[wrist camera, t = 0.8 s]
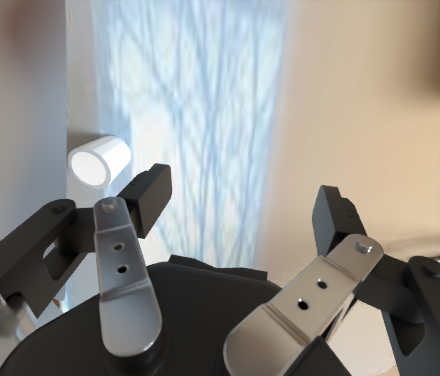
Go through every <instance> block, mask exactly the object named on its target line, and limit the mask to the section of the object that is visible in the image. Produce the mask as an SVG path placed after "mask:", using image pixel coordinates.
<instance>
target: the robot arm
mask: <svg viewBox="0 0 440 376" xmlns="http://www.w3.org/2000/svg"><path fill="white" fill-rule="evenodd" d="M171 195H172V180H171V168H170V166H169V165H166V164H158V163H155V164H154V165H153V166H152V167H151V168H150V169H149V171H144V172H142V173H140V174H138V175H137V176H136V177H135V178H134V179H133V181H131V182H130V183H129V185H127V186H126V187H125V188H124V189H123V190H122V191H121V192H120V193H119V194H118V195H117V196H116V197H108V198H104V199H102V200H100V201H98V202H97V203H96V204H95V205H94V207H93V208H77V207H76V204H75V202H74V201H73V200H70V199H59V200H55V201H52V202H49V203H47V204H46V205H44V206H43V207H42V208H41V209H39V210H38V211H37V212H36V213H34V214H33V215H32V216H31V217H30V218H28V219H27V220H26V221H25V222H24V223H22V224H21V225H20V226H18V227H17V228H16V229H15V230H14V231H12V232H11V233H10V234H9V235H7V236H6V237H5V238H4V239H2V240H1V241H0V376H351V374H350V373H349V372H348V370H347V369H346V368H345V366H344V365H343V364H342V362H341V361H340V360H339V359H338V357H337V356H336V355H335V353H334V352H333V351H332V349H331V348H330V347H329V345H328V343H329V342H330V340H331V339H332V337H333V336H334V334H335V332H336V331H337V329H338V328H339V326H340V325H341V324H342V322H343V321H344V320H345V318H346V317H347V316H348V314H349V313H350V312H351V310H352V309H353V308H354V306H355V305H356V304H357V302H358V301H359V300H360V301H362V302H364V303H366V304H368V305H371V306H373V307H375V308H377V309H379V310H381V313H382V316H383V320H384V323H385V326H386V330H387V333H388V337H389V340H390V343H391V347H392V350H393V354H394V357H395V360H396V364H397V367H398V371H399V374H400V376H440V263H439V262H437V261H435V260H433V259H431V258H428V257H424V256H413V257H411V258H410V259H409V261H408V262H407V263H406V262H404V261H401V260H398V259H395V258H393V257H390V256H388V255H386V254H384V250H383V248H382V247H381V245H380V244H379V243H378V242H376V241H375V240H374V239H372V238H370V237H368V236H367V234H366V231H365V229H364V227H363V224H362V222H361V220H360V219H359V218H360V217H359V215H358V213H357V210H356V208H355V206H354V204H353V203H352V202H351V201H350V200H349V199H347V198H342V197H341V195H340V192H339V190H338V187H333V186H325V185H321V187H320V189H319V192H318V196H317V199H316V202H315V206H314V209H313V214H312V223H313V229H314V235H315V241H316V247H317V252H318V257H317V258H316V259H315V260H314V261H312V262H311V263H310V264H309V265H308V266H307V267H306V268H305V269H304V270H303V271H302V272H301V273H299V274H298V275H297V276H296V277H295V278H294V279H293V280H292V281H291V282H290V283H289V284H288V285H286V286H285V287H284V288H283V289H282V288H281V287H279V286H278V285H276V284H274V283H273V282H271V281H268V280H267V272H264V271H259V270H253V269H248V268H215V267H213V266H210V265H208V264H206V263H203V262H201V261H198V260H196V259H193V258H188V257H182V256H177V255H172V254H171V256H170V259H169V261H168V262H159V263H155V264H152V265H149V266H147V267H146V265H145V261H144V258H143V255H142V251H141V248H140V245H139V241H138V238H142V239H145V238H146V236H147V234H148V233H149V231H150V230H151V228H152V227H153V225H154V224H155V222H156V221H157V219H158V217H159V216H160V214H161V213H162V211H163V210H164V208H165V207H166V205H167V203H168V202H169V200H170V198H171ZM52 242H54V245H55V247H54V248H53V249H52V250H51V252H50V253H49V254H48V255H47V256H46V257H45V258H44V259H43V254H44V252H45V250H46V249H47V248H48V247H49V246H50V245H51V243H52ZM92 252H96V262H97V272H98V282H99V292H100V293H99V294H97V295H95V296H93V297H92V298H90V299H88V300H86V301H85V302H83V303H81V304H79V305H78V306H76V307H74V308H73V309H71V310H69V311H67V312H66V313H64V314H62V315H60V316H59V317H57V318H55V319H54V320H52V321H50V322H48V323H46V324H45V325H43V326H42V327H40V328H38V329H37V326H38V321H37V319H38V318H39V316H40V315H41V313H42V312H43V311H44V310H45V308H46V307H47V306H48V305H49V303H50V302H51V301H52V299H53V298H54V297H55V295H56V294H57V293H58V292H59V290H60V289H61V288H62V286H63V285H64V284H65V283H66V281H67V280H68V279H69V277H70V276H71V275H72V273H73V272H74V271H75V270H76V268H77V267H78V266H79V264H80V263H81V262H82V261H83V259H84V258H85V257H86V255H87V254H88V253H92Z"/></svg>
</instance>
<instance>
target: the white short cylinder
mask: <svg viewBox="0 0 440 376" xmlns="http://www.w3.org/2000/svg"><path fill="white" fill-rule="evenodd" d="M130 155H131V153H130V150H129V147H128V146H127V144H126V143H125V142H124V141H123V140H122V139H120V138H119V137H116V136H113V135H109V136H104V137H102V138H99V139H97V140H94V141H92V142H89V143H87V144H84V145H82V146H79V147H77V148H75V149H74V150H72V151H71V152H70V153H69V156H68V167H69V169H70V171H71V173H72V175H73V176H74V177H75V178H76V179H77V180H78V181H79V182H80V183H82V184H83V185H85V186H86V187H89V188H92V189H103V188H105V187H107V186H108V185H109V184H110V183H111V182H112V181H113V179H114V178H115V177H116V176H117V175H118V174H119V173H120V172H121V170H122V169H123V168H124V167H125V166H126V165H127V164H128V162H129V160H130Z"/></svg>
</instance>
